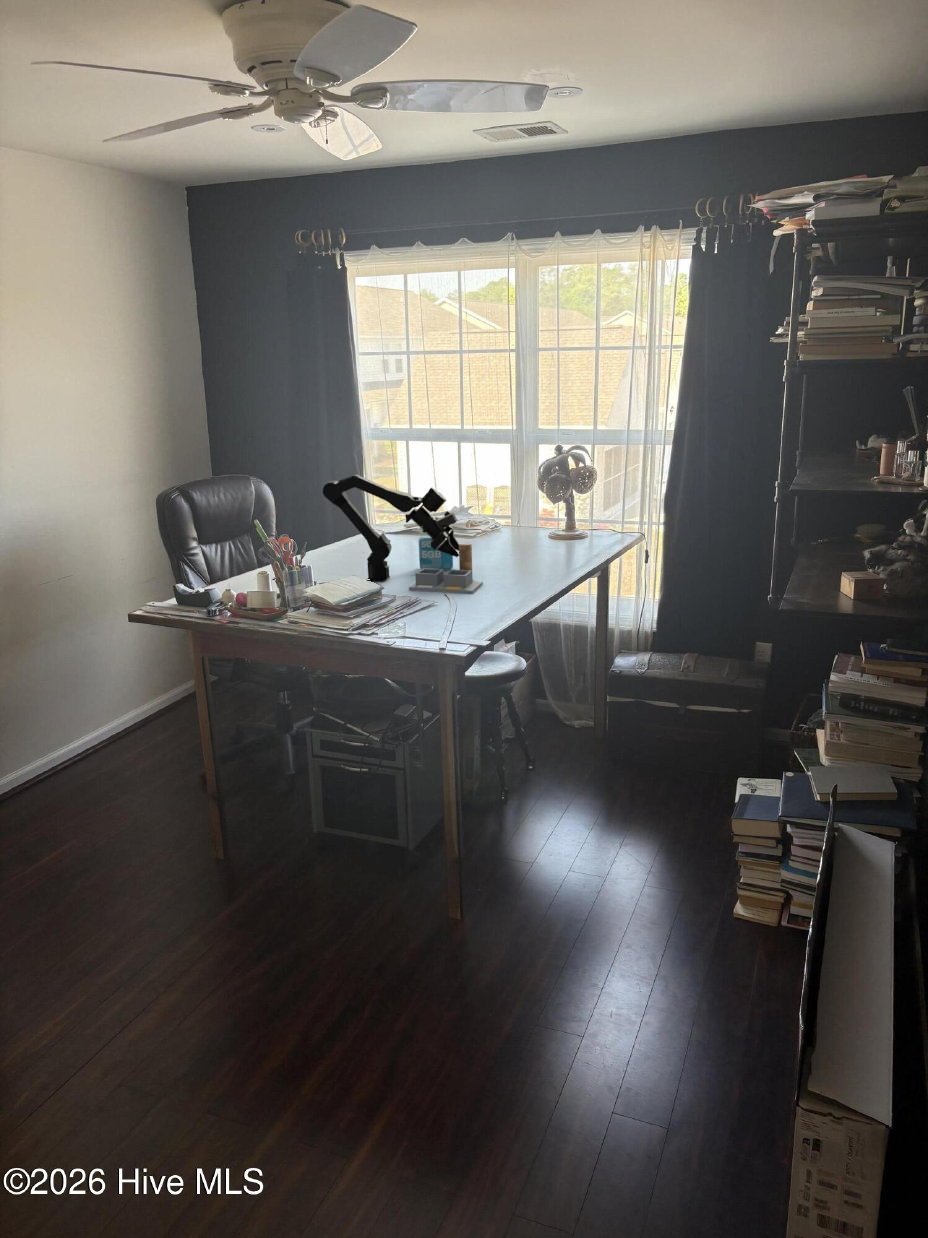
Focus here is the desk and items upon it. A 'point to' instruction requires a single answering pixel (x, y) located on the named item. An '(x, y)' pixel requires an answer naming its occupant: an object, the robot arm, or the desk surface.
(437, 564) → the data package
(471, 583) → the socket block
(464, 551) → the walnut peg
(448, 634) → the desk surface
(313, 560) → the desk surface
